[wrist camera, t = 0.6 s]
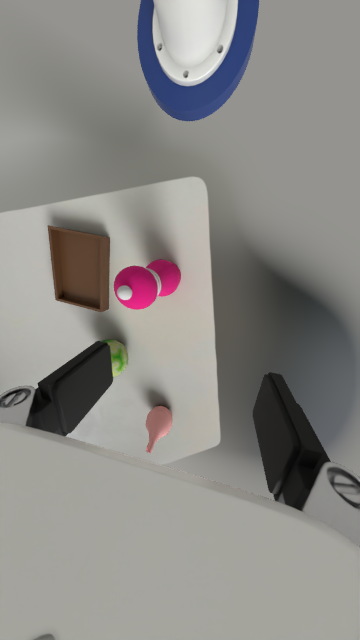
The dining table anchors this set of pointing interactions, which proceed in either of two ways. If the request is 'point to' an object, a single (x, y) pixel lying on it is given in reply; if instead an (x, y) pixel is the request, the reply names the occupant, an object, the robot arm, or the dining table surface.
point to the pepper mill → (146, 283)
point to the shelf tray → (80, 268)
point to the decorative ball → (117, 356)
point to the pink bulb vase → (158, 425)
